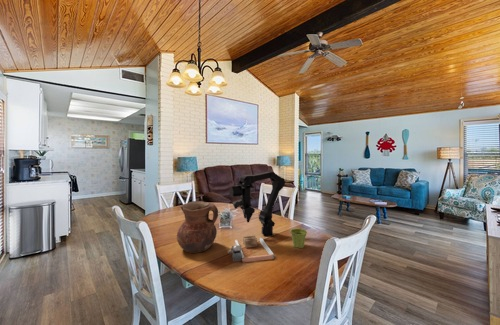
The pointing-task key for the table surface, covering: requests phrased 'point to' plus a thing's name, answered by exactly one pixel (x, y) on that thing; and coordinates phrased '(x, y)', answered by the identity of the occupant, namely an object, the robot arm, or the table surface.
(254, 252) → the table surface
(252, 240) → the crate
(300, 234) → the plant pot
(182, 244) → the jug
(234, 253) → the winch
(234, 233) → the table surface
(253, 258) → the bay
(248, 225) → the table surface
